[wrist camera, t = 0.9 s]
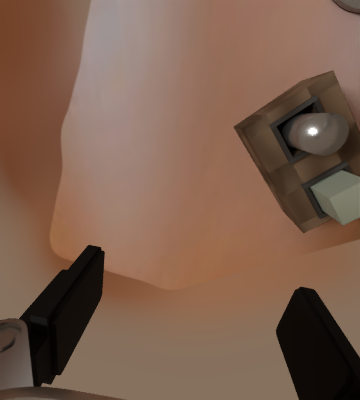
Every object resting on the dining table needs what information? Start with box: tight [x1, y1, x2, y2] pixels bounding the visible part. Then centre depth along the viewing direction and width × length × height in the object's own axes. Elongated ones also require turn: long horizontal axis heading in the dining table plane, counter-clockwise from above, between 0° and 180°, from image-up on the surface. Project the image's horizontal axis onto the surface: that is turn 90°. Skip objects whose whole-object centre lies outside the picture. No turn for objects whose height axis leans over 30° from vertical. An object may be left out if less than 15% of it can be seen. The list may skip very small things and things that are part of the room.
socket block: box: [234, 71, 360, 233], centre depth 31 cm, size 11×17×9 cm, turn 35°
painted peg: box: [309, 170, 360, 225], centre depth 29 cm, size 4×4×9 cm
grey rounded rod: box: [277, 113, 349, 156], centre depth 26 cm, size 4×4×9 cm
